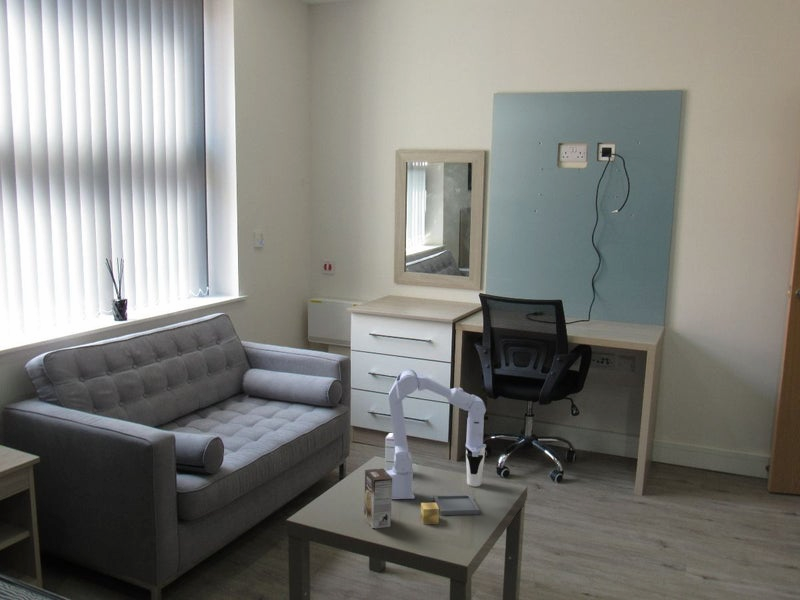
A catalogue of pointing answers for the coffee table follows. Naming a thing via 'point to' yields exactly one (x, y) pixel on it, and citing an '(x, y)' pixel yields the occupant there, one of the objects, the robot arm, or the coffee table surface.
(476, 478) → the drinking glass
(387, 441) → the syrup box
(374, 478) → the coffee box
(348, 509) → the coffee table surface
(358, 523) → the coffee table surface
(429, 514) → the cube
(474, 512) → the tray
